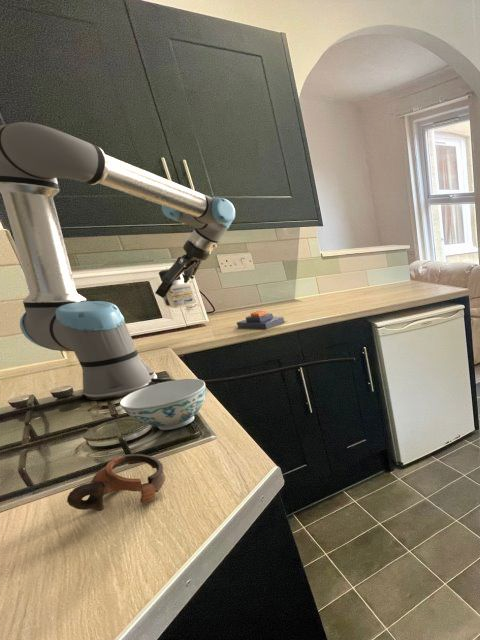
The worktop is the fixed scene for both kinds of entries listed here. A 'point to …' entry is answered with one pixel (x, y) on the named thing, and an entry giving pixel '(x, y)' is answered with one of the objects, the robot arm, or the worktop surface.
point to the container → (179, 293)
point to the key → (258, 313)
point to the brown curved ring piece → (117, 483)
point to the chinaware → (166, 403)
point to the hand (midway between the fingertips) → (168, 292)
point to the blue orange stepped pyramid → (260, 322)
